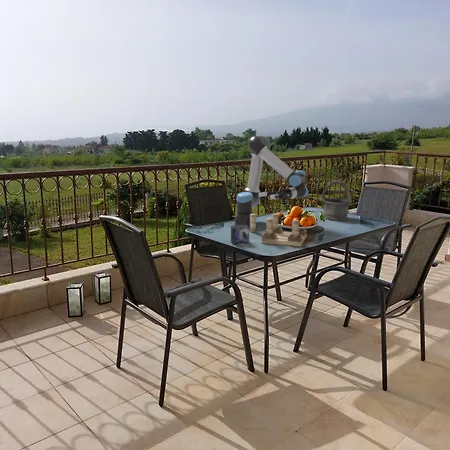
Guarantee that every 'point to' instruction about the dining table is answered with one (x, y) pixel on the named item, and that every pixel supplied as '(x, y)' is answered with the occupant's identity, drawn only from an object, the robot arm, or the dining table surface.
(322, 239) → the dining table surface
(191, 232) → the dining table surface
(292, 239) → the upturned wooden stool
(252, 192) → the robot arm
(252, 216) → the loose leg
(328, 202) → the wicker basket
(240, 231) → the small box
